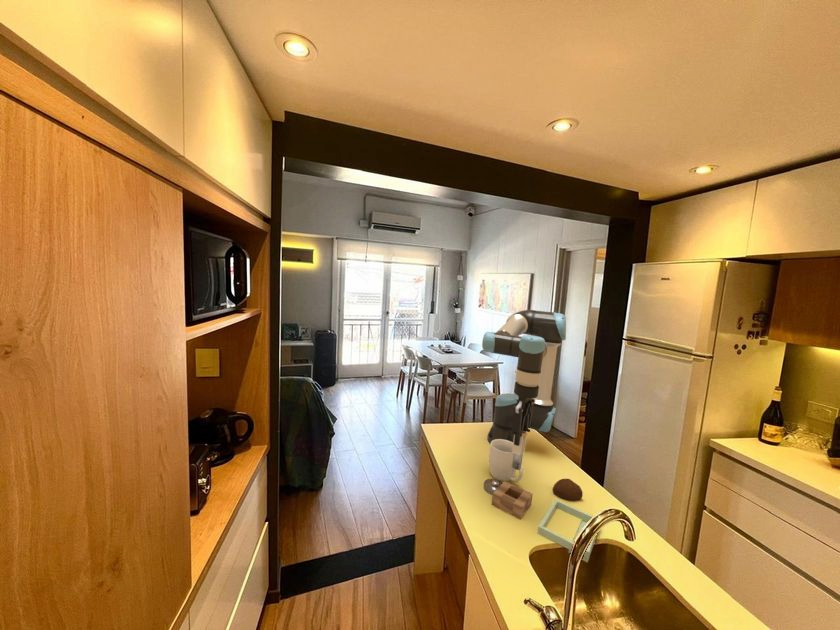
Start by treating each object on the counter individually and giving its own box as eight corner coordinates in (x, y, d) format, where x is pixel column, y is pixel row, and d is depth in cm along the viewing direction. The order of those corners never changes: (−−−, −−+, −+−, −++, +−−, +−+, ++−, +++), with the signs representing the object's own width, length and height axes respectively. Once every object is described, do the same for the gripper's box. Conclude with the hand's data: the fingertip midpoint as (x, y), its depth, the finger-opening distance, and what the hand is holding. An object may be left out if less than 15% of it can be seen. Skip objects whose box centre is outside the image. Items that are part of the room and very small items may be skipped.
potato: (586, 506, 118) (589, 487, 117) (556, 503, 118) (559, 484, 117) (577, 493, 125) (579, 475, 124) (549, 491, 125) (551, 473, 124)
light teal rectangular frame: (554, 507, 115) (555, 498, 115) (599, 528, 107) (600, 519, 106) (536, 535, 101) (538, 526, 100) (587, 562, 92) (589, 552, 92)
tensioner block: (503, 494, 120) (504, 480, 119) (530, 507, 114) (532, 493, 113) (491, 507, 112) (492, 493, 111) (520, 522, 106) (522, 507, 105)
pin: (513, 463, 114) (518, 429, 113) (522, 467, 112) (526, 432, 111) (510, 467, 112) (514, 432, 110) (519, 471, 110) (523, 435, 108)
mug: (529, 487, 126) (534, 454, 124) (509, 495, 119) (514, 460, 118) (500, 467, 138) (504, 436, 137) (480, 473, 132) (484, 441, 131)
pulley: (489, 482, 126) (490, 473, 126) (509, 491, 122) (510, 482, 121) (479, 491, 120) (480, 481, 120) (500, 501, 115) (501, 492, 115)
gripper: (524, 376, 117) (516, 439, 120) (506, 385, 105) (497, 456, 107) (546, 381, 113) (537, 447, 115) (529, 391, 100) (520, 465, 103)
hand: (518, 451), depth 111 cm, fingers closed on pin, 3 cm apart
